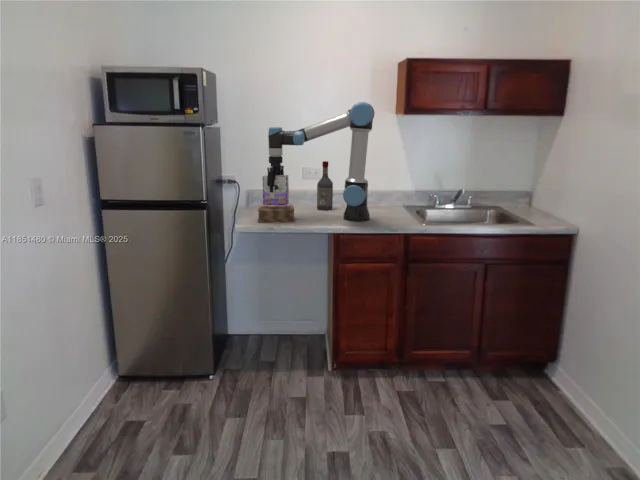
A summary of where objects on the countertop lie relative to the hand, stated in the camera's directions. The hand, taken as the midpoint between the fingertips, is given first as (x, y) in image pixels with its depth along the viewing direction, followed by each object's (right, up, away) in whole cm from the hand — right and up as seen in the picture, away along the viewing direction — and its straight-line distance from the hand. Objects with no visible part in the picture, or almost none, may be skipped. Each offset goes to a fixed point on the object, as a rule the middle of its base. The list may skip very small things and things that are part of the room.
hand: (276, 197), depth 271 cm
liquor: (+28, -5, +37) cm, 46 cm away
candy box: (0, -4, +1) cm, 4 cm away
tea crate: (0, -13, +3) cm, 13 cm away
